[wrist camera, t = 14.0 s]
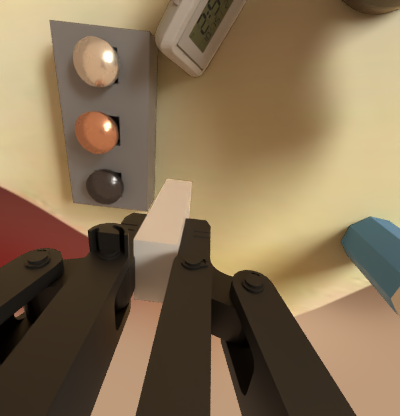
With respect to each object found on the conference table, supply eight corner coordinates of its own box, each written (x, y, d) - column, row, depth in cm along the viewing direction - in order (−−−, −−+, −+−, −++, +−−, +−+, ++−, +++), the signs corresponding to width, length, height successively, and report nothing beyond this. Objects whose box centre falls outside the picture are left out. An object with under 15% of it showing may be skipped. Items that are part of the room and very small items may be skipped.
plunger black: (99, 160, 39) (84, 169, 34) (131, 164, 39) (120, 173, 34) (101, 190, 41) (87, 202, 36) (132, 193, 41) (121, 206, 36)
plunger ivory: (91, 42, 32) (70, 33, 27) (129, 47, 32) (115, 38, 27) (94, 85, 34) (75, 84, 30) (130, 90, 34) (117, 89, 30)
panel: (71, 30, 33) (49, 19, 29) (158, 40, 33) (149, 31, 29) (87, 191, 43) (73, 202, 39) (154, 199, 43) (147, 211, 39)
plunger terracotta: (91, 107, 34) (72, 109, 30) (127, 111, 34) (114, 114, 30) (94, 144, 37) (77, 151, 32) (128, 148, 37) (116, 156, 32)
